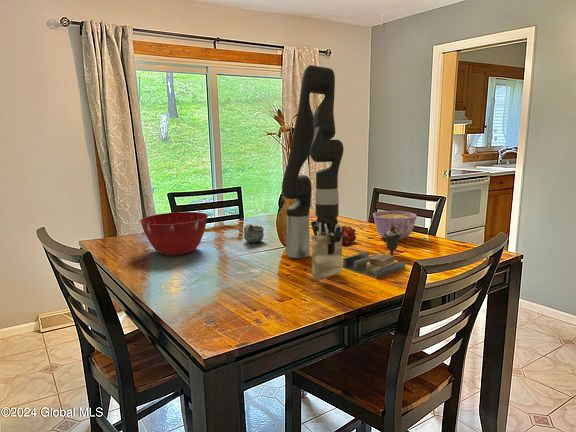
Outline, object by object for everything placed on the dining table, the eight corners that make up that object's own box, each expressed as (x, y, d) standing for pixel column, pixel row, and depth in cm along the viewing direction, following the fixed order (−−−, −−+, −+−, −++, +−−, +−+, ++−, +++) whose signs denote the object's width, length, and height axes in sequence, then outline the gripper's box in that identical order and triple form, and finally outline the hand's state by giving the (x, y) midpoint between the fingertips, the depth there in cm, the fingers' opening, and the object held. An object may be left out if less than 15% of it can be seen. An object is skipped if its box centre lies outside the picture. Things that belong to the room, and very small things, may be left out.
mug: (266, 240, 200) (266, 219, 198) (259, 246, 188) (259, 225, 186) (247, 239, 202) (246, 219, 200) (239, 246, 190) (238, 224, 188)
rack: (339, 270, 154) (339, 258, 153) (368, 261, 163) (368, 250, 163) (376, 282, 141) (376, 269, 140) (405, 272, 150) (405, 260, 150)
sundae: (388, 262, 162) (389, 224, 159) (380, 257, 169) (381, 221, 166) (403, 260, 164) (404, 223, 161) (394, 256, 170) (396, 220, 167)
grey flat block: (366, 271, 148) (366, 263, 147) (384, 265, 154) (384, 257, 153) (379, 275, 143) (380, 267, 142) (397, 269, 149) (398, 261, 149)
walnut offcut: (369, 263, 146) (369, 258, 146) (381, 258, 152) (381, 253, 151) (382, 266, 143) (382, 261, 142) (393, 261, 148) (394, 255, 148)
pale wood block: (312, 277, 138) (311, 236, 136) (335, 270, 145) (335, 230, 143) (318, 279, 136) (318, 237, 134) (341, 272, 143) (341, 232, 140)
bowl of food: (421, 243, 189) (422, 218, 187) (376, 244, 189) (377, 219, 187) (409, 233, 208) (410, 210, 206) (369, 233, 209) (369, 211, 207)
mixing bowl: (128, 256, 177) (124, 220, 174) (175, 240, 202) (172, 209, 199) (179, 264, 164) (176, 226, 161) (222, 247, 189) (221, 213, 186)
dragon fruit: (349, 243, 198) (346, 253, 187) (335, 232, 198) (331, 242, 187) (360, 229, 195) (357, 239, 184) (345, 219, 195) (341, 228, 184)
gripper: (304, 201, 139) (304, 251, 142) (334, 205, 128) (334, 259, 132) (320, 198, 144) (320, 247, 147) (350, 202, 133) (350, 255, 136)
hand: (327, 252), depth 139 cm, fingers closed on pale wood block, 3 cm apart
